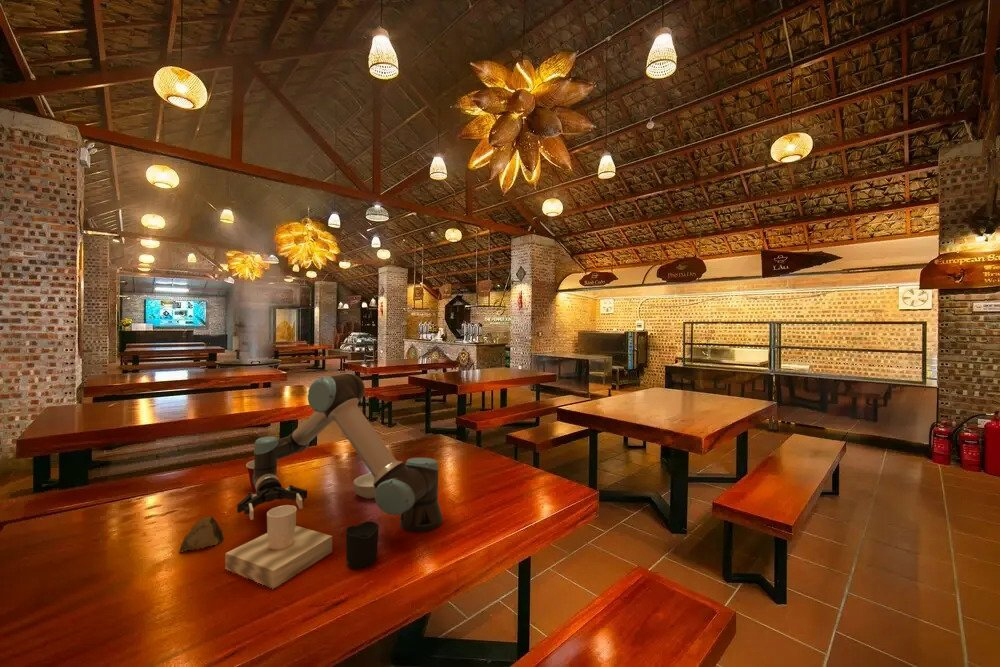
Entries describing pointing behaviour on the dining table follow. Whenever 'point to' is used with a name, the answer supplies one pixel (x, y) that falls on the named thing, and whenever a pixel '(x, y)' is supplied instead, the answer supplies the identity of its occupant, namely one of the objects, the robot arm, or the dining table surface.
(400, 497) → the robot arm
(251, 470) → the plastic cup
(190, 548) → the rock
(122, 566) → the dining table surface
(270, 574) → the birch plinth
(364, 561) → the pen holder
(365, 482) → the cereal bowl
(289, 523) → the white cup
